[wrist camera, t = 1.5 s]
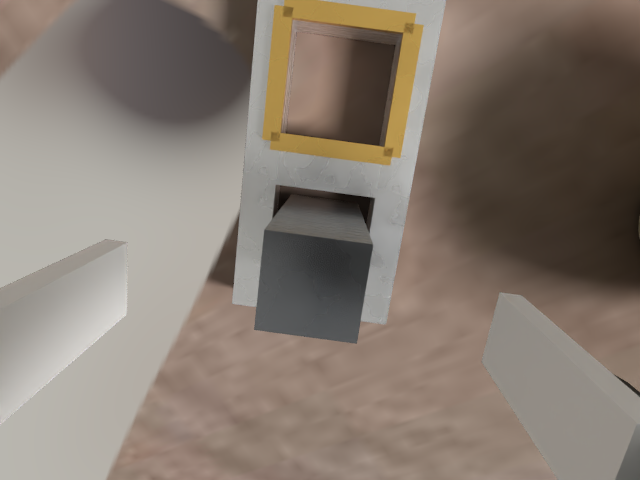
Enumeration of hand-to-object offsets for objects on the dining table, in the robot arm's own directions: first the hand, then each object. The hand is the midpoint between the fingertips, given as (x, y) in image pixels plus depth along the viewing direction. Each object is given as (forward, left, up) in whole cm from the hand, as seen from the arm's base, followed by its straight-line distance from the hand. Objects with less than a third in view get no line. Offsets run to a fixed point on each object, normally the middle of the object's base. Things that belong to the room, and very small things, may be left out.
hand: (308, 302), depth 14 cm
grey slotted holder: (+4, 0, -13) cm, 14 cm away
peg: (0, 0, -13) cm, 13 cm away
